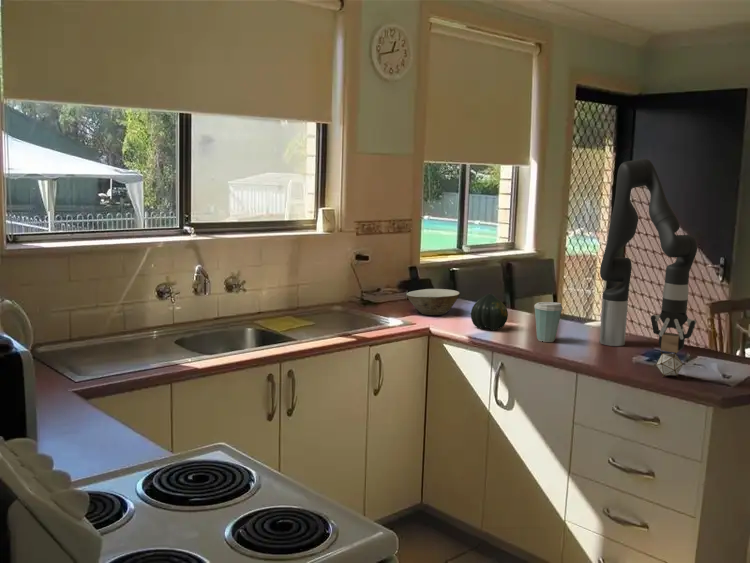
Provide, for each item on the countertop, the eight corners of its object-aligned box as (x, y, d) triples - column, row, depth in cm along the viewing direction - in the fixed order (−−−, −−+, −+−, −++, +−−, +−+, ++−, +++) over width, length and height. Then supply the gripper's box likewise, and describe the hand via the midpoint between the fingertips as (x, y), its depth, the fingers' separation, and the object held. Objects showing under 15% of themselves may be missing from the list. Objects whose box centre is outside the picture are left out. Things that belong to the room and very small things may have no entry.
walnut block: (664, 347, 243) (665, 332, 242) (680, 349, 240) (681, 334, 239) (660, 350, 239) (662, 335, 238) (676, 352, 236) (678, 337, 235)
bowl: (396, 310, 338) (397, 288, 336) (442, 306, 348) (442, 285, 346) (421, 320, 317) (422, 297, 315) (468, 316, 327) (469, 294, 325)
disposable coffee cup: (526, 339, 287) (528, 301, 284) (543, 335, 293) (545, 298, 291) (549, 345, 279) (551, 306, 276) (566, 341, 285) (568, 303, 283)
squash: (486, 321, 292) (503, 290, 297) (459, 316, 304) (476, 287, 308) (503, 341, 300) (520, 311, 305) (476, 335, 312) (492, 306, 316)
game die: (668, 385, 243) (682, 359, 245) (680, 384, 235) (694, 357, 237) (645, 371, 244) (659, 345, 246) (655, 369, 236) (670, 342, 238)
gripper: (701, 298, 236) (696, 349, 239) (655, 292, 244) (651, 342, 247) (696, 301, 230) (691, 354, 233) (649, 296, 238) (645, 347, 241)
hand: (670, 348), depth 240 cm, fingers closed on walnut block, 5 cm apart
